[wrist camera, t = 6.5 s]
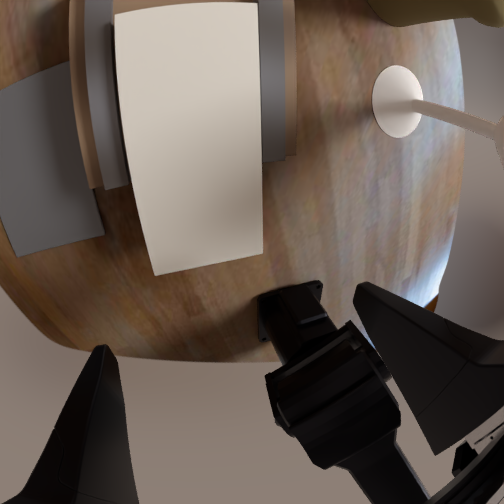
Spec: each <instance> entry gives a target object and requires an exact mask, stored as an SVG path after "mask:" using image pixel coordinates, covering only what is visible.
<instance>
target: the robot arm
mask: <svg viewBox="0 0 504 504" xmlns="http://www.w3.org/2000/svg"><path fill="white" fill-rule="evenodd" d="M322 288H323V284H322V283H321V281H319V280H317V281H313V282H310V283H306V284H302V285H298V286H294V287H291V288H287V289H283V290H279V291H275V292H271V293H267V294H263V295H260V296H259V297H258V299H257V310H258V339H259V341H260V342H266V341H270V340H271V342H272V344H273V346H274V349H275V351H276V353H277V355H278V357H279V359H280V361H281V363H282V365H283V366H282V367H280V368H279V369H277V370H275V371H273V372H272V373H268V374H266V375H265V380H266V387H267V391H268V396H269V399H270V404H271V407H272V412H273V416H274V418H275V423H276V424H277V426H280V427H282V428H283V430H284V431H285V432H286V433H287V434H288V435H289V436H291V437H293V438H294V437H296V438H297V439H298V441H299V442H300V444H301V445H302V446H303V448H304V450H305V451H306V453H307V454H308V456H309V458H310V459H311V461H312V463H313V464H315V465H316V466H318V467H320V468H322V469H325V470H326V469H328V468H330V467H332V466H337V467H340V468H342V469H346V470H348V471H349V473H350V474H351V475H352V477H353V478H354V480H355V481H356V482H357V484H358V485H359V487H360V488H361V489H362V491H363V492H364V494H365V495H366V496H367V498H368V499H369V501H370V502H371V503H372V504H499V502H500V501H501V500H502V499H503V498H504V340H495V339H492V338H490V337H487V336H485V335H482V334H480V333H477V332H474V331H472V330H470V329H467V328H465V327H462V326H460V325H458V324H456V323H454V322H452V321H450V320H448V319H445V318H443V317H441V316H439V315H437V314H435V313H433V312H431V311H429V310H427V309H425V308H423V307H421V306H419V305H416V304H414V303H412V302H410V301H408V300H406V299H404V298H402V297H400V296H398V295H395V294H393V293H391V292H389V291H387V290H385V289H383V288H380V287H378V286H376V285H374V284H372V283H370V282H363V283H360V284H358V285H357V287H356V290H355V294H354V298H353V304H354V307H355V309H356V311H357V313H358V315H359V317H360V319H361V321H362V324H363V326H364V328H365V330H366V332H367V334H368V336H369V338H370V340H371V341H372V343H373V345H374V346H375V348H376V350H377V351H378V353H379V355H380V356H381V357H380V356H379V355H378V353H377V352H376V350H375V349H374V348H373V347H372V345H371V344H370V343H369V342H368V340H367V339H366V338H365V337H364V336H363V334H362V333H361V332H360V331H359V330H358V328H357V327H356V326H355V325H354V324H353V322H352V321H351V320H349V321H348V322H346V323H345V325H344V326H343V327H341V328H340V329H337V328H336V326H335V325H334V323H333V322H332V320H331V319H330V318H329V316H328V315H327V312H326V311H325V309H324V308H323V306H322V305H321V304H320V300H321V294H322ZM262 300H263V301H262ZM381 358H382V359H381ZM383 361H384V362H383ZM386 366H387V367H386ZM390 373H391V374H390ZM391 375H392V376H391ZM392 377H393V379H394V380H395V382H396V384H397V386H398V387H399V389H400V391H401V392H402V394H403V396H404V398H405V400H406V402H407V403H408V405H409V407H410V409H411V411H412V413H413V414H414V416H415V417H416V420H417V422H418V424H419V426H420V428H421V430H422V432H423V434H424V436H425V437H426V439H427V441H428V443H429V445H430V447H431V449H432V451H433V453H434V455H435V456H436V455H438V454H439V453H441V452H442V451H444V450H446V449H447V448H449V447H450V446H452V445H453V444H455V443H456V442H458V441H459V440H461V439H462V438H465V439H466V440H465V441H464V442H463V443H461V444H460V445H459V446H458V447H457V448H456V452H455V458H454V463H453V469H452V474H453V476H454V477H455V478H454V479H453V480H452V481H450V482H449V483H448V484H447V485H446V486H445V487H444V488H442V489H441V490H440V491H439V492H437V493H436V494H435V495H434V496H432V497H430V495H429V493H428V492H427V490H426V488H425V487H424V485H423V483H422V482H421V480H420V479H419V477H418V475H417V474H416V472H415V471H414V469H413V467H412V466H411V464H410V462H409V461H408V459H407V458H406V456H405V454H404V453H403V451H402V450H401V448H400V447H399V445H398V443H397V442H396V435H397V428H398V427H400V425H401V413H400V411H399V405H398V402H397V401H396V399H395V397H394V396H393V394H392V393H391V391H390V389H389V388H388V386H387V385H386V383H385V382H387V381H389V380H390V379H391V378H392ZM54 428H55V429H53V431H52V433H51V435H50V437H49V439H48V442H47V444H46V446H45V448H44V450H43V452H42V454H41V456H40V458H39V460H38V462H37V464H36V466H35V468H34V469H33V471H32V473H31V475H30V477H29V479H28V481H27V483H26V485H25V487H24V488H23V489H22V491H21V492H20V493H19V494H18V495H16V496H14V497H13V498H11V499H9V500H7V501H6V502H4V503H2V504H139V500H138V496H137V491H136V486H135V481H134V475H133V469H132V463H131V457H130V450H129V443H128V434H127V424H126V414H125V404H124V398H123V392H122V386H121V380H120V374H119V367H118V362H117V359H116V357H115V356H114V354H113V353H112V351H111V349H110V348H109V346H108V345H106V344H104V345H98V346H96V347H95V348H94V350H93V351H92V353H91V355H90V357H89V359H88V361H87V362H86V364H85V366H84V368H83V370H82V371H81V374H80V375H79V377H78V379H77V381H76V383H75V385H74V387H73V389H72V391H71V393H70V395H69V397H68V399H67V401H66V403H65V405H64V407H63V409H62V411H61V413H60V415H59V418H58V420H57V422H56V424H55V426H54Z"/></svg>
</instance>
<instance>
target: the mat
mask: <svg viewBox="0 0 504 504" xmlns="http://www.w3.org/2000/svg"><path fill="white" fill-rule="evenodd" d="M0 217H1V220H2V222H3V225H4V228H5V230H6V233H7V235H8V238H9V240H10V242H11V245H12V247H13V249H14V252H15V254H16V256H17V257H20V256H24V255H27V254H31V253H35V252H38V251H42V250H46V249H49V248H53V247H57V246H61V245H65V244H69V243H73V242H77V241H81V240H85V239H89V238H93V237H98V236H102V235H105V230H104V226H103V223H102V220H101V216H100V213H99V209H98V205H97V202H96V198H95V194H94V190H93V189H90V188H89V184H88V180H87V175H86V171H85V167H84V162H83V157H82V152H81V147H80V142H79V136H78V131H77V124H76V118H75V111H74V103H73V95H72V85H71V73H70V61H67V62H64V63H61V64H58V65H56V66H53V67H51V68H48V69H45V70H43V71H41V72H38V73H36V74H34V75H31V76H29V77H27V78H25V79H22V80H20V81H18V82H16V83H14V84H12V85H10V86H8V87H6V88H4V89H2V90H1V91H0Z"/></svg>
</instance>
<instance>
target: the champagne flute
mask: <svg viewBox="0 0 504 504" xmlns="http://www.w3.org/2000/svg"><path fill="white" fill-rule="evenodd" d="M372 105H373V111H374V115H375V118H376V120H377V123H378V124H379V126H380V128H381V129H382V130H383V131H384V132H385V133H386V134H388V135H389V136H392V137H395V138H401V137H405V136H407V135H409V134H410V133H411V132H413V130H414V129H415V128H416V127H417V125H418V123H419V121H420V118H421V116H422V114H423V115H426V116H430V117H433V118H436V119H439V120H442V121H445V122H448V123H451V124H454V125H457V126H460V127H462V128H465V129H468V130H470V131H473V132H475V133H478V134H481V135H483V136H486V137H488V138H490V139H492V140H494V141H495V144H496V149H497V152H498V155H499V157H500V160H501V163H502V165H503V168H504V116H503V117H502V118H501V119H500V120H499V122H498V124H495V123H493V122H490V121H488V120H485V119H482V118H480V117H477V116H474V115H471V114H468V113H465V112H462V111H459V110H456V109H452V108H449V107H446V106H442V105H438V104H435V103H431V102H427V101H423V95H422V90H421V87H420V84H419V82H418V80H417V78H416V77H415V76H414V74H413V73H412V72H411V71H409V70H408V69H406V68H405V67H402V66H396V65H393V66H390V67H388V68H386V69H384V70H383V71H382V72H381V73H380V74H379V76H378V78H377V79H376V82H375V85H374V88H373V93H372Z"/></svg>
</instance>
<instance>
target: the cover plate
mask: <svg viewBox="0 0 504 504" xmlns="http://www.w3.org/2000/svg"><path fill="white" fill-rule="evenodd" d="M115 52H116V69H117V81H118V92H119V102H120V110H121V118H122V126H123V133H124V140H125V146H126V152H127V158H128V164H129V169H130V174H131V180H132V185H133V190H134V194H135V199H136V204H137V208H138V213H139V217H140V221H141V225H142V229H143V234H144V237H145V241H146V245H147V249H148V253H149V256H150V260H151V264H152V267H153V271H154V274H155V276H157V275H162V274H166V273H171V272H176V271H181V270H186V269H191V268H196V267H200V266H205V265H210V264H215V263H220V262H225V261H229V260H234V259H239V258H244V257H249V256H253V255H258V254H263V213H262V150H261V105H260V67H259V35H258V8H257V3H241V2H207V3H189V4H177V5H168V6H160V7H153V8H146V9H140V10H135V11H130V12H125V13H120V14H116V15H115Z"/></svg>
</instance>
